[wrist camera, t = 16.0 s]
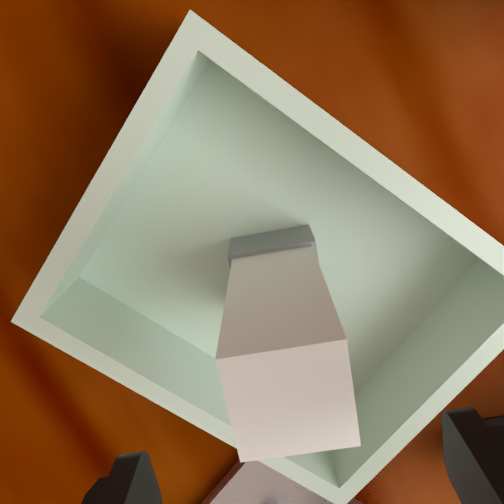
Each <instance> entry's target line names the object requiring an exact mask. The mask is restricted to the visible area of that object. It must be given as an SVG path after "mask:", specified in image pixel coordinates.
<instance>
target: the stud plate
mask: <svg viewBox="0 0 504 504" xmlns="http://www.w3.org/2000/svg"><path fill="white" fill-rule="evenodd" d="M201 504H334V503H332V502H330V501H329V500H327V499H325V498H323V497H321V496H320V495H318V494H316V493H314V492H313V491H311V490H309V489H307V488H305V487H304V486H302V485H300V484H298V483H297V482H295V481H293V480H291V479H289V478H288V477H286V476H284V475H282V474H281V473H279V472H277V471H275V470H273V469H272V468H270V467H268V466H266V465H265V464H263V463H261V462H259V461H258V460H256V461H248V462H241V463H240V459H239V460H238V461H237V463H236V464H235V465H234V466H233V467H232V468H231V469H230V471H229V472H228V473H227V474H226V475H225V476H224V477H223V479H222V480H221V481H220V482H219V483H218V484H217V486H216V487H215V488H214V489H213V490H212V491H211V492H210V494H209V495H208V496H207V497H206V498H205V499H204V501H203V502H202V503H201ZM347 504H364V503H362V502H361V501H359V500H357V499H355V498H354V497H353V498H352V499H351V500H350V501H349V502H348V503H347Z"/></svg>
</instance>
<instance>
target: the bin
mask: <svg viewBox="0 0 504 504" xmlns="http://www.w3.org/2000/svg"><path fill="white" fill-rule="evenodd" d="M304 225H309V226H310V228H311V231H312V233H313V236H314V238H315V241H316V247H317V254H318V260H319V265H320V268H321V271H322V273H323V276H324V279H325V281H326V284H327V287H328V290H329V292H330V295H331V298H332V300H333V303H334V306H335V308H336V311H337V314H338V317H339V319H340V322H341V325H342V327H343V330H344V333H345V336H346V338H347V344H348V351H349V359H350V367H351V374H352V382H353V389H354V397H355V404H356V412H357V419H358V427H359V434H360V442H361V446H358V447H351V448H343V449H336V450H329V451H321V452H314V453H307V454H300V455H292V456H285V457H278V458H270V459H263V460H258V461H259V462H261V463H263V464H265V465H266V466H268V467H270V468H272V469H273V470H275V471H277V472H279V473H281V474H282V475H284V476H286V477H288V478H289V479H291V480H293V481H295V482H297V483H298V484H300V485H302V486H304V487H305V488H307V489H309V490H311V491H313V492H314V493H316V494H318V495H320V496H321V497H323V498H325V499H327V500H329V501H330V502H332V503H334V504H347V503H348V502H349V501H350V500H351V499H352V498H353V497H354V496H355V495H356V494H357V493H358V492H359V491H360V490H361V489H362V488H363V487H364V486H365V485H366V484H367V483H368V482H369V481H371V480H372V479H373V478H374V477H375V476H376V475H377V474H378V473H379V472H380V471H381V470H382V469H383V468H384V467H385V466H386V465H387V464H388V463H389V462H390V461H391V460H392V459H393V458H394V457H395V456H396V455H397V454H398V453H399V452H400V451H401V450H402V449H403V448H404V447H405V446H406V445H407V444H408V443H409V442H410V441H411V440H412V439H413V438H414V437H415V436H416V435H417V434H418V433H419V432H420V431H421V430H422V429H423V428H424V427H425V426H426V425H427V424H428V423H429V422H430V421H431V420H432V419H433V418H434V417H435V416H436V415H437V414H438V413H439V412H440V411H441V410H443V409H444V408H445V407H446V406H447V405H448V404H449V403H450V402H451V401H452V400H453V399H454V398H455V397H456V396H457V395H458V394H459V393H460V392H461V391H462V390H463V389H464V388H465V387H466V386H467V385H468V384H469V383H470V382H471V381H472V380H473V379H474V378H475V377H476V376H477V375H478V374H479V373H480V372H481V371H482V370H483V369H484V368H485V367H486V366H487V365H488V364H489V363H490V362H491V361H492V360H493V359H494V358H495V357H496V356H497V355H498V354H499V353H500V352H501V351H502V350H503V349H504V246H503V245H502V244H500V243H499V242H498V241H496V240H495V239H494V238H492V237H491V236H490V235H488V234H487V233H486V232H484V231H483V230H482V229H480V228H479V227H478V226H477V225H475V224H474V223H473V222H471V221H470V220H469V219H467V218H466V217H465V216H463V215H462V214H461V213H459V212H458V211H457V210H455V209H454V208H453V207H451V206H450V205H449V204H447V203H446V202H445V201H443V200H442V199H441V198H439V197H438V196H437V195H435V194H434V193H433V192H431V191H430V190H429V189H427V188H426V187H425V186H423V185H422V184H421V183H419V182H418V181H417V180H415V179H414V178H413V177H412V176H410V175H409V174H408V173H406V172H405V171H404V170H402V169H401V168H400V167H398V166H397V165H396V164H394V163H393V162H392V161H390V160H389V159H388V158H386V157H385V156H384V155H382V154H381V153H380V152H378V151H377V150H376V149H374V148H373V147H372V146H370V145H369V144H368V143H366V142H365V141H364V140H362V139H361V138H360V137H358V136H357V135H356V134H354V133H353V132H352V131H350V130H349V129H348V128H347V127H345V126H344V125H343V124H341V123H340V122H339V121H337V120H336V119H335V118H333V117H332V116H331V115H329V114H328V113H327V112H325V111H324V110H323V109H321V108H320V107H319V106H317V105H316V104H315V103H313V102H312V101H311V100H309V99H308V98H307V97H305V96H304V95H303V94H301V93H300V92H299V91H297V90H296V89H295V88H293V87H292V86H291V85H289V84H288V83H287V82H286V81H284V80H283V79H282V78H280V77H279V76H278V75H276V74H275V73H274V72H272V71H271V70H270V69H268V68H267V67H266V66H264V65H263V64H262V63H260V62H259V61H258V60H256V59H255V58H254V57H252V56H251V55H250V54H248V53H247V52H246V51H244V50H243V49H242V48H240V47H239V46H238V45H236V44H235V43H234V42H232V41H231V40H230V39H228V38H227V37H226V36H224V35H223V34H222V33H221V32H219V31H218V30H217V29H215V28H214V27H213V26H211V25H210V24H209V23H207V22H206V21H205V20H203V19H202V18H201V17H199V16H198V15H197V14H195V13H194V12H193V11H191V10H189V12H188V14H187V16H186V17H185V19H184V21H183V23H182V24H181V26H180V28H179V30H178V31H177V33H176V35H175V36H174V38H173V40H172V42H171V43H170V45H169V47H168V49H167V50H166V52H165V54H164V56H163V57H162V59H161V61H160V63H159V64H158V66H157V68H156V70H155V71H154V73H153V75H152V76H151V78H150V80H149V82H148V83H147V85H146V87H145V89H144V90H143V92H142V94H141V96H140V97H139V99H138V101H137V103H136V104H135V106H134V108H133V110H132V111H131V113H130V115H129V117H128V118H127V120H126V122H125V123H124V125H123V127H122V129H121V130H120V132H119V134H118V136H117V137H116V139H115V141H114V143H113V144H112V146H111V148H110V150H109V151H108V153H107V155H106V157H105V158H104V160H103V162H102V163H101V165H100V167H99V169H98V170H97V172H96V174H95V176H94V177H93V179H92V181H91V183H90V184H89V186H88V188H87V190H86V191H85V193H84V195H83V197H82V198H81V200H80V202H79V204H78V205H77V207H76V209H75V210H74V212H73V214H72V216H71V217H70V219H69V221H68V223H67V224H66V226H65V228H64V230H63V231H62V233H61V235H60V237H59V238H58V240H57V242H56V244H55V245H54V247H53V249H52V250H51V252H50V254H49V256H48V257H47V259H46V261H45V263H44V264H43V266H42V268H41V270H40V271H39V273H38V275H37V277H36V278H35V280H34V282H33V284H32V285H31V287H30V289H29V291H28V292H27V294H26V296H25V297H24V299H23V301H22V303H21V304H20V306H19V308H18V310H17V311H16V313H15V315H14V317H13V318H12V320H11V322H12V323H14V324H16V325H18V326H19V327H21V328H23V329H25V330H26V331H28V332H30V333H32V334H34V335H35V336H37V337H39V338H41V339H42V340H44V341H46V342H48V343H50V344H51V345H53V346H55V347H57V348H58V349H60V350H62V351H64V352H66V353H67V354H69V355H71V356H73V357H74V358H76V359H78V360H80V361H82V362H83V363H85V364H87V365H89V366H90V367H92V368H94V369H96V370H98V371H99V372H101V373H103V374H105V375H106V376H108V377H110V378H112V379H114V380H115V381H117V382H119V383H121V384H122V385H124V386H126V387H128V388H130V389H131V390H133V391H135V392H137V393H138V394H140V395H142V396H144V397H146V398H147V399H149V400H151V401H153V402H154V403H156V404H158V405H160V406H162V407H163V408H165V409H167V410H169V411H170V412H172V413H174V414H176V415H178V416H179V417H181V418H183V419H185V420H186V421H188V422H190V423H192V424H194V425H195V426H197V427H199V428H201V429H202V430H204V431H206V432H208V433H210V434H211V435H213V436H215V437H217V438H218V439H220V440H222V441H224V442H226V443H227V444H229V445H231V446H233V447H234V448H236V449H237V447H236V443H235V439H234V434H233V430H232V426H231V422H230V418H229V414H228V410H227V406H226V402H225V398H224V394H223V389H222V385H221V381H220V377H219V373H218V369H217V365H216V361H215V358H216V352H217V346H218V340H219V334H220V328H221V322H222V316H223V310H224V304H225V298H226V292H227V286H228V280H229V274H230V266H229V262H228V257H227V255H228V250H229V245H230V240H231V238H235V237H241V236H246V235H252V234H258V233H264V232H269V231H275V230H281V229H286V228H292V227H298V226H304Z"/></svg>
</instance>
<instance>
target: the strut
mask: <svg viewBox="0 0 504 504" xmlns="http://www.w3.org/2000/svg"><path fill="white" fill-rule="evenodd" d="M227 257H228V262H229V266H230V274H229V280H228V286H227V292H226V298H225V304H224V310H223V316H222V322H221V328H220V334H219V340H218V346H217V352H216V358H215V361H216V365H217V369H218V373H219V377H220V381H221V385H222V389H223V394H224V398H225V402H226V406H227V410H228V414H229V418H230V422H231V426H232V430H233V434H234V439H235V443H236V447H237V451H238V455H239V459H240V463H241V462H248V461H256V460H263V459H270V458H278V457H285V456H292V455H300V454H307V453H314V452H321V451H329V450H336V449H343V448H351V447H358V446H361V442H360V434H359V427H358V419H357V412H356V404H355V397H354V389H353V382H352V374H351V367H350V359H349V351H348V344H347V338H346V336H345V333H344V330H343V327H342V325H341V322H340V319H339V317H338V314H337V311H336V308H335V306H334V303H333V300H332V298H331V295H330V292H329V290H328V287H327V284H326V281H325V279H324V276H323V273H322V271H321V268H320V265H319V260H318V254H317V247H316V241H315V238H314V236H313V233H312V231H311V228H310V226H309V225H304V226H298V227H292V228H286V229H281V230H275V231H269V232H264V233H258V234H252V235H246V236H241V237H235V238H231V240H230V245H229V250H228V255H227Z"/></svg>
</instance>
